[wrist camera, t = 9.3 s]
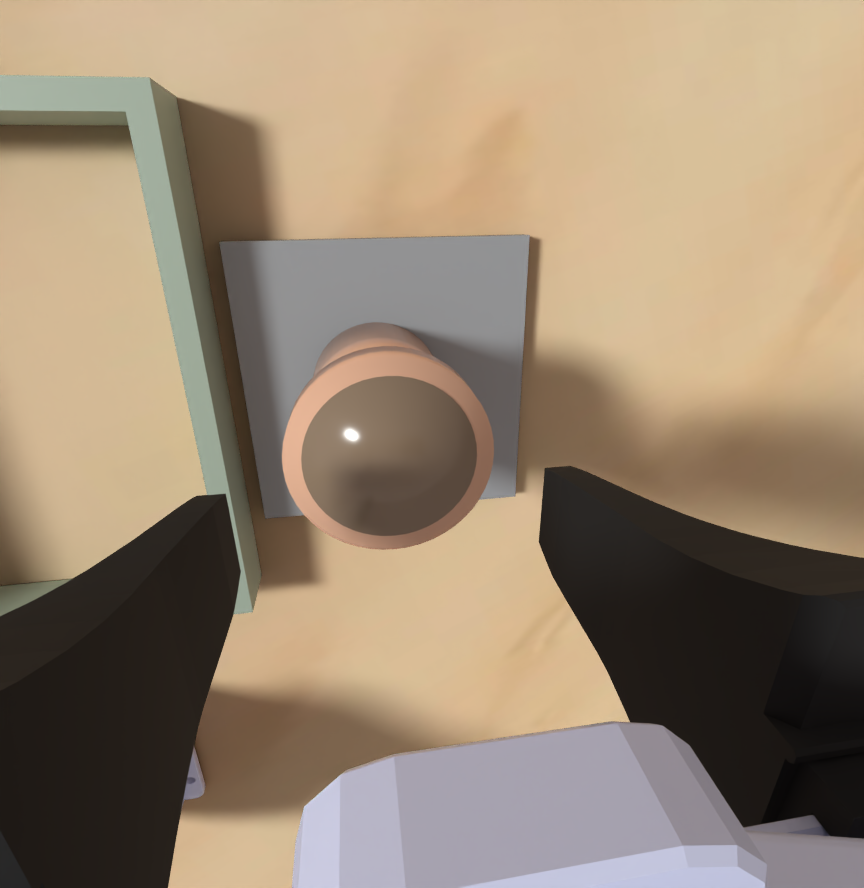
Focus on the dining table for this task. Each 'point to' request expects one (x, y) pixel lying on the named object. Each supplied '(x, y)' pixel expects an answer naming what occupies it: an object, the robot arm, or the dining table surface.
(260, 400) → the slate mat
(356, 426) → the terracotta pot
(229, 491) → the frame
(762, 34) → the dining table surface
